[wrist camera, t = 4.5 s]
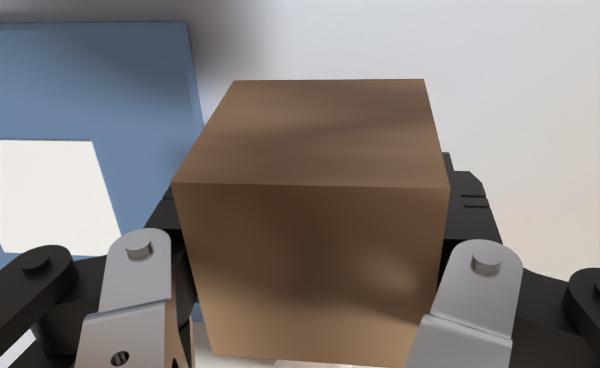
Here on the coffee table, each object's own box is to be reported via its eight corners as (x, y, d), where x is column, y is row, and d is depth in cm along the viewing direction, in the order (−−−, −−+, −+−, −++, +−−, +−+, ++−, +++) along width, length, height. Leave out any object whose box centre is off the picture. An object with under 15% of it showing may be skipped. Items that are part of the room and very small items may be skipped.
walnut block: (423, 78, 12) (450, 188, 8) (409, 230, 15) (424, 369, 11) (234, 80, 13) (169, 182, 9) (254, 225, 16) (212, 355, 12)
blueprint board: (186, 20, 18) (177, 29, 17) (233, 309, 27) (229, 324, 26) (-188, 24, 20) (-214, 32, 19) (-28, 296, 29) (-41, 310, 28)
